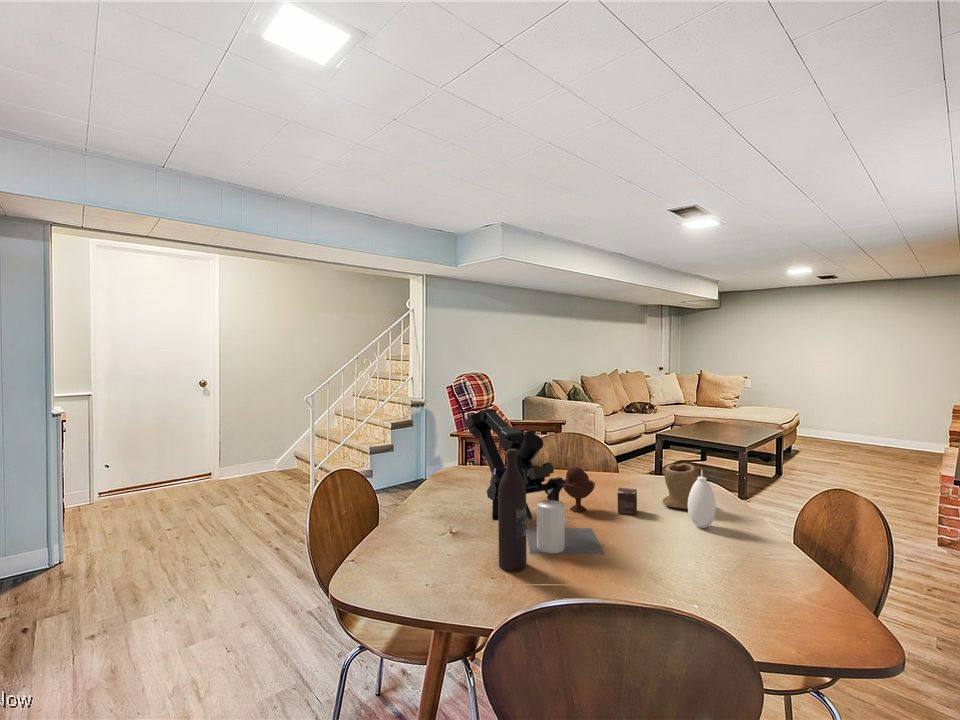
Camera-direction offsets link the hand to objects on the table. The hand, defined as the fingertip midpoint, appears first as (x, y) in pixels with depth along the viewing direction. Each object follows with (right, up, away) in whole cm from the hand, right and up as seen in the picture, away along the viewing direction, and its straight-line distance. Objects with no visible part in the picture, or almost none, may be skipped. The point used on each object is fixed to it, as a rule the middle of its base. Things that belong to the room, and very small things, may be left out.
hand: (545, 516), depth 135 cm
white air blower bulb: (+50, -7, +13) cm, 52 cm away
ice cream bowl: (+15, -7, +29) cm, 33 cm away
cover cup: (+1, -8, -2) cm, 8 cm away
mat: (+5, -8, +3) cm, 10 cm away
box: (+31, -7, +26) cm, 41 cm away
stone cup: (+52, -7, +30) cm, 60 cm away
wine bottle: (-10, -9, -13) cm, 18 cm away
